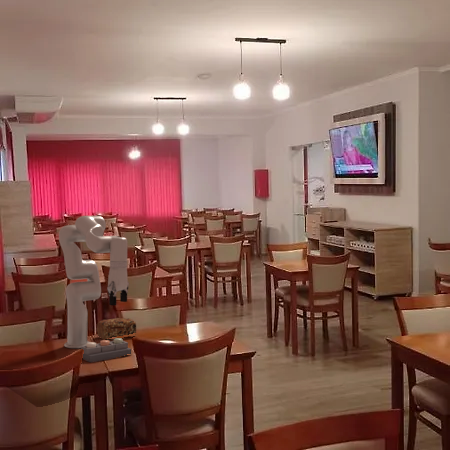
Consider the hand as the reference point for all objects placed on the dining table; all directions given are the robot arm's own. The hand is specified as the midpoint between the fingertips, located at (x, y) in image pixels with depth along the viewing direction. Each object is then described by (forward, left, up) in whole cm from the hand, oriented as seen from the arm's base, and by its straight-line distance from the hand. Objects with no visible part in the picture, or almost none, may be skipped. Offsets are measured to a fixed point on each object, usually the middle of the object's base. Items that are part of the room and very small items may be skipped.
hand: (118, 303), depth 268 cm
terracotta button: (-13, +1, -22) cm, 26 cm away
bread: (-44, +25, -27) cm, 58 cm away
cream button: (-13, -6, -22) cm, 27 cm away
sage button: (-13, +8, -22) cm, 27 cm away
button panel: (-13, +1, -27) cm, 30 cm away
